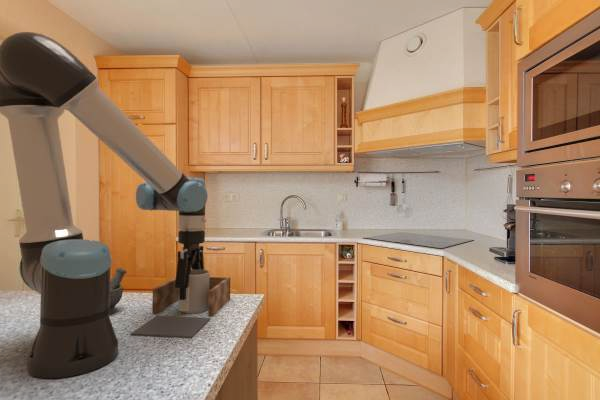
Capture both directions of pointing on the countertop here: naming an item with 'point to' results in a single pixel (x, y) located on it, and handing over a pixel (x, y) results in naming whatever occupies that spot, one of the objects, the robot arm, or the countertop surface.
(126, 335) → the countertop surface
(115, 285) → the mortar and pestle
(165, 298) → the open-sided wooden frame
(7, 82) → the robot arm
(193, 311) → the mug
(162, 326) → the mat
